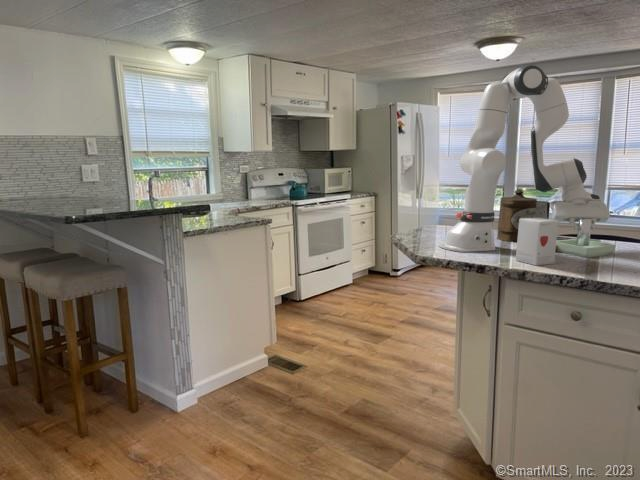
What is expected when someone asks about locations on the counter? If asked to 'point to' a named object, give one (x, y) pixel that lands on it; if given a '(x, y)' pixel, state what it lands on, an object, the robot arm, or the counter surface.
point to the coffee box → (542, 209)
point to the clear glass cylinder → (584, 232)
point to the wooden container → (514, 215)
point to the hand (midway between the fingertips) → (585, 229)
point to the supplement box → (536, 241)
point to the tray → (585, 248)
